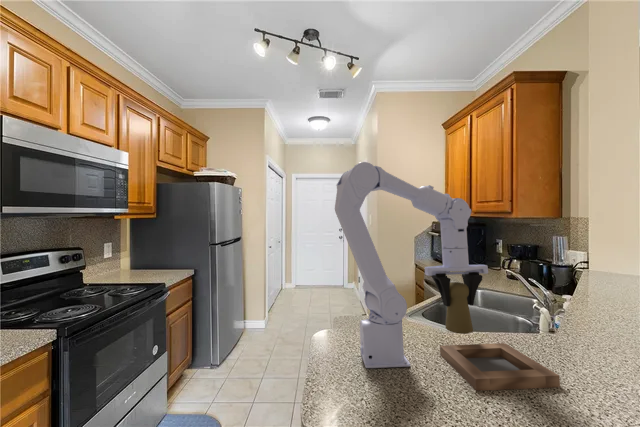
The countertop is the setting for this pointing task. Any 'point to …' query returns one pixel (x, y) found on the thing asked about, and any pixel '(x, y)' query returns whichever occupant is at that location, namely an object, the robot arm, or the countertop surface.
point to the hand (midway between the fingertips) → (458, 304)
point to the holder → (497, 367)
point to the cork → (458, 309)
